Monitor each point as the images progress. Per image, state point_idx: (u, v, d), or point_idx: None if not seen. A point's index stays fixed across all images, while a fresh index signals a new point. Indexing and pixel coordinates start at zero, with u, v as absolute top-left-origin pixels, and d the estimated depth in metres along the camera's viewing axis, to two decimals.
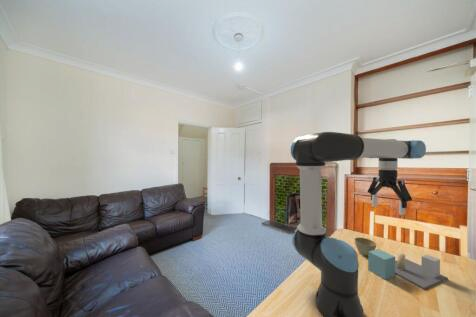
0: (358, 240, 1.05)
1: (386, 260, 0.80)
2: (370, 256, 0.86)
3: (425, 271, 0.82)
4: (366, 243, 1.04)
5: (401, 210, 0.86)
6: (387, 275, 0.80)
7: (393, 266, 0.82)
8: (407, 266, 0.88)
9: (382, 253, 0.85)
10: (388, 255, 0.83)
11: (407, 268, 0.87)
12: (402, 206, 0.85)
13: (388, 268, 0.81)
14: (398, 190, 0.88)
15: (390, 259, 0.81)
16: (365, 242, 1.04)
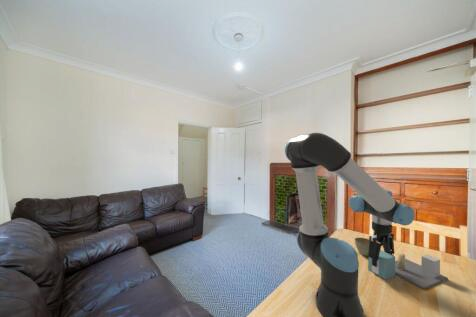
0: (358, 240, 1.05)
1: (386, 260, 0.80)
2: None
3: (425, 271, 0.82)
4: (366, 243, 1.04)
5: (373, 267, 0.84)
6: (387, 275, 0.80)
7: (393, 266, 0.82)
8: (407, 266, 0.88)
9: (382, 253, 0.85)
10: (388, 255, 0.83)
11: (407, 268, 0.87)
12: None
13: (388, 268, 0.81)
14: None
15: (390, 259, 0.81)
16: (365, 242, 1.04)
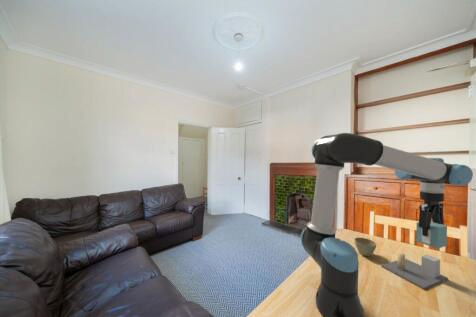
0: (358, 240, 1.05)
1: (439, 228, 0.78)
2: (419, 227, 0.83)
3: (425, 271, 0.82)
4: (366, 243, 1.04)
5: (423, 237, 0.81)
6: (439, 244, 0.78)
7: (445, 235, 0.79)
8: (407, 266, 0.88)
9: (431, 223, 0.82)
10: (439, 225, 0.81)
11: (407, 268, 0.87)
12: None
13: (440, 237, 0.78)
14: None
15: (442, 228, 0.79)
16: (365, 242, 1.04)
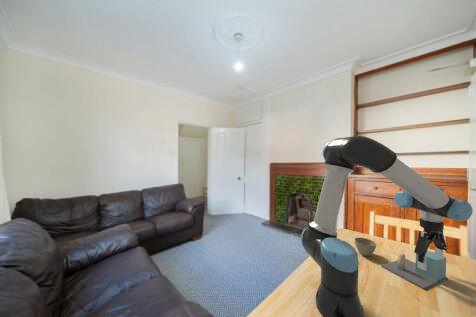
0: (358, 240, 1.05)
1: (438, 260, 0.78)
2: None
3: None
4: (366, 243, 1.04)
5: (419, 263, 0.81)
6: (438, 276, 0.78)
7: (444, 267, 0.80)
8: (407, 266, 0.88)
9: (431, 254, 0.83)
10: (438, 256, 0.81)
11: (407, 268, 0.87)
12: None
13: (439, 269, 0.78)
14: None
15: (441, 260, 0.79)
16: (366, 242, 1.04)
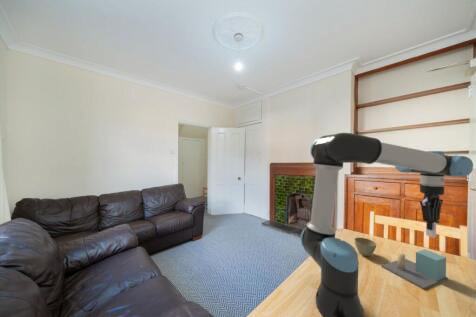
0: (358, 240, 1.05)
1: (438, 260, 0.78)
2: (418, 257, 0.83)
3: None
4: (366, 243, 1.04)
5: (427, 231, 0.82)
6: (438, 276, 0.78)
7: (444, 267, 0.80)
8: (407, 266, 0.88)
9: (431, 254, 0.83)
10: (438, 256, 0.81)
11: (407, 268, 0.87)
12: None
13: (439, 269, 0.78)
14: None
15: (441, 260, 0.79)
16: (365, 242, 1.04)
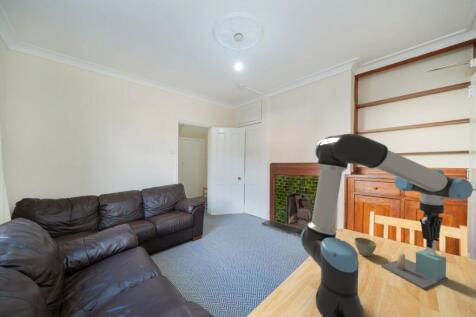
0: (358, 240, 1.05)
1: (438, 260, 0.78)
2: (418, 257, 0.83)
3: None
4: (366, 243, 1.04)
5: (427, 249, 0.83)
6: (438, 276, 0.78)
7: (444, 267, 0.80)
8: (407, 266, 0.88)
9: None
10: (438, 256, 0.81)
11: (407, 268, 0.87)
12: None
13: (439, 269, 0.78)
14: None
15: (441, 260, 0.79)
16: (365, 242, 1.04)
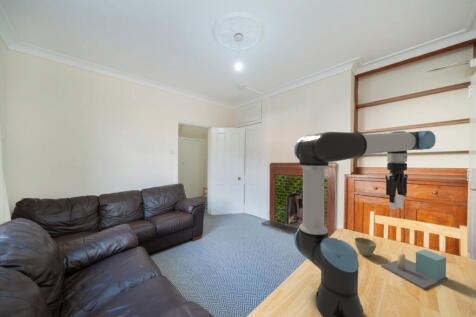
0: (358, 240, 1.05)
1: (438, 260, 0.78)
2: (418, 257, 0.83)
3: None
4: (366, 243, 1.04)
5: (390, 204, 0.90)
6: (438, 276, 0.78)
7: (444, 267, 0.80)
8: (407, 266, 0.88)
9: (431, 254, 0.83)
10: (438, 256, 0.81)
11: (407, 268, 0.87)
12: None
13: (439, 269, 0.78)
14: None
15: (441, 260, 0.79)
16: (365, 242, 1.04)
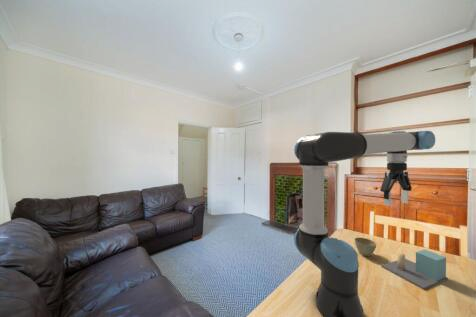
0: (358, 240, 1.05)
1: (438, 260, 0.78)
2: (418, 257, 0.83)
3: None
4: (366, 243, 1.04)
5: (385, 201, 0.89)
6: (438, 276, 0.78)
7: (444, 267, 0.80)
8: (407, 266, 0.88)
9: (431, 254, 0.83)
10: (438, 256, 0.81)
11: (407, 268, 0.87)
12: None
13: (439, 269, 0.78)
14: None
15: (441, 260, 0.79)
16: (366, 242, 1.04)
